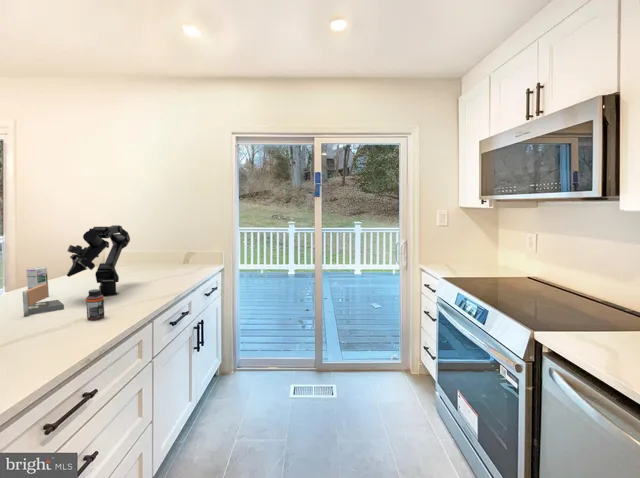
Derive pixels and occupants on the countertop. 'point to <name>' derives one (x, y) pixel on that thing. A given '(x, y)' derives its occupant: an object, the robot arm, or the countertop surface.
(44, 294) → the peach rectangular plank
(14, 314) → the countertop surface
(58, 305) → the plate
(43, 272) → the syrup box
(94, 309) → the supplement bottle
